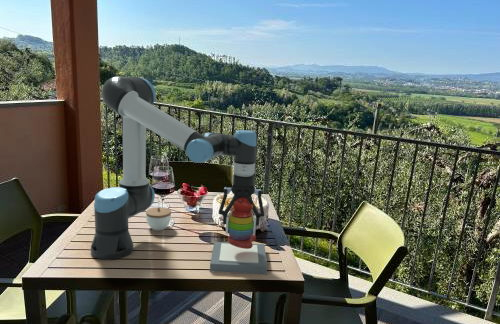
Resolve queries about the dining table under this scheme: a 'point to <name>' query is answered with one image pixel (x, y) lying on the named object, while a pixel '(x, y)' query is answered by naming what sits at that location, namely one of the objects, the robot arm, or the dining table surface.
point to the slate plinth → (238, 259)
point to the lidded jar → (158, 218)
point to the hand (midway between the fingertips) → (240, 232)
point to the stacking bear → (241, 224)
